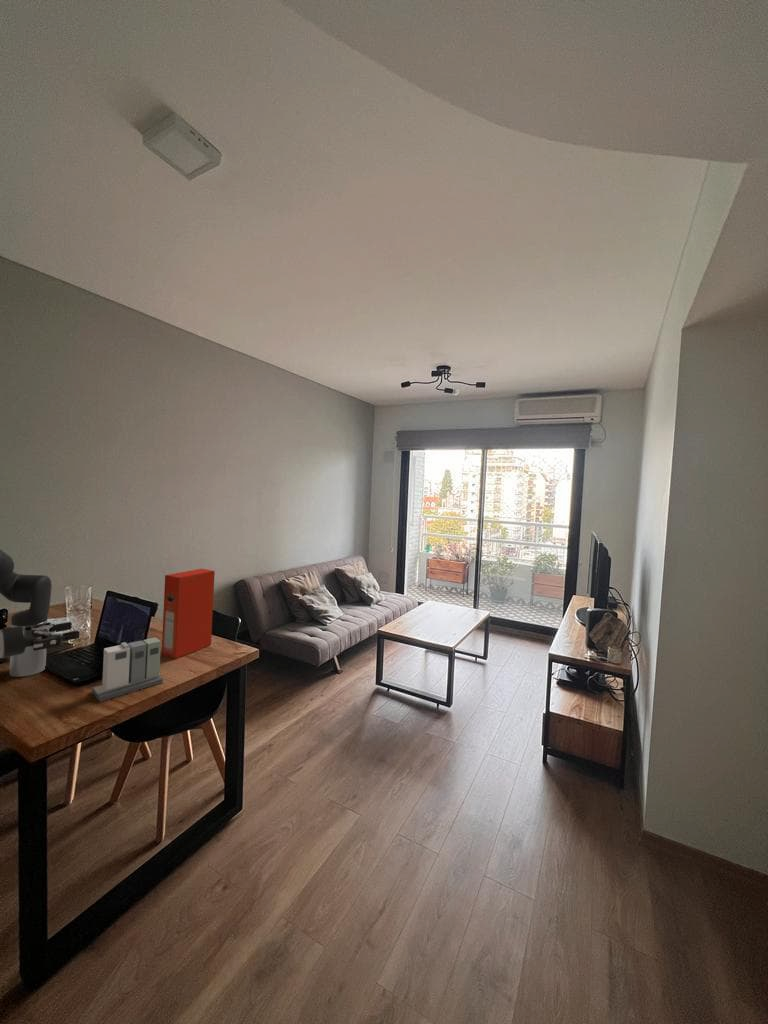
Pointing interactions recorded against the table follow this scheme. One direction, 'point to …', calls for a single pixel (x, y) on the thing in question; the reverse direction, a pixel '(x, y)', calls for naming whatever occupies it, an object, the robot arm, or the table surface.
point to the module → (116, 666)
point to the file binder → (187, 612)
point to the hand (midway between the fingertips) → (75, 629)
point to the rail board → (137, 669)
